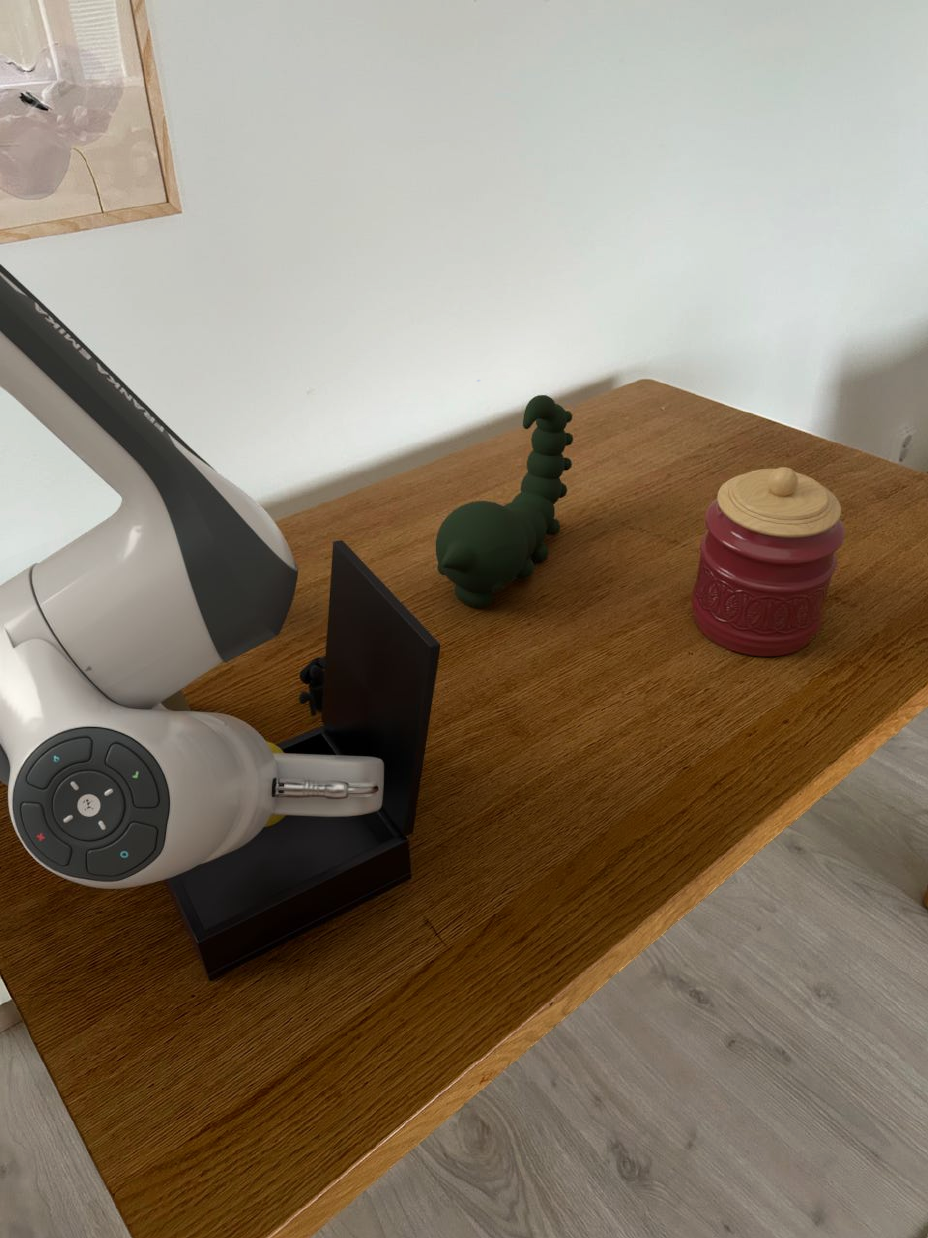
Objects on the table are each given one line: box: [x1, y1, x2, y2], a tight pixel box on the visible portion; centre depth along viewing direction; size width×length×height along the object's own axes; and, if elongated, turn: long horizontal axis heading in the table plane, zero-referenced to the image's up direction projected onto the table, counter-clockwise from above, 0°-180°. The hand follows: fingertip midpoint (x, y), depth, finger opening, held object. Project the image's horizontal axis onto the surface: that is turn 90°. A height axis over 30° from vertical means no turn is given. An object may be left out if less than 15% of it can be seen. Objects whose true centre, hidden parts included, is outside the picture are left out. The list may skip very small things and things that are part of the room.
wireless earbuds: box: [298, 655, 325, 717], centre depth 91 cm, size 7×2×5 cm, turn 149°
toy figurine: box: [435, 394, 574, 609], centre depth 103 cm, size 9×19×25 cm
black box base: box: [163, 724, 412, 982], centre depth 77 cm, size 17×15×5 cm
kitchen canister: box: [691, 466, 846, 657], centre depth 96 cm, size 13×13×18 cm
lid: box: [320, 539, 442, 837], centre depth 74 cm, size 18×15×1 cm
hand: (258, 774), depth 73 cm, fingers closed on lemon, 5 cm apart
